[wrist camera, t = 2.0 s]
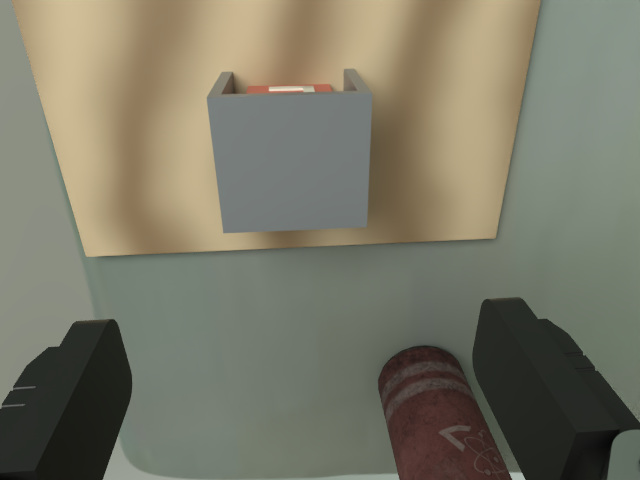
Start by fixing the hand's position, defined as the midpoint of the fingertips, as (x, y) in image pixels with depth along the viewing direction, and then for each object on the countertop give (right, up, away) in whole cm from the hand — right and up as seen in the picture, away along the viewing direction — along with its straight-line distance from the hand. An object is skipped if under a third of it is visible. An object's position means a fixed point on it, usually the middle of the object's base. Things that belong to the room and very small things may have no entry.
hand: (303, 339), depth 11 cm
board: (-1, +8, +15) cm, 17 cm away
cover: (-1, +8, +14) cm, 16 cm away
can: (+7, -8, +25) cm, 27 cm away
